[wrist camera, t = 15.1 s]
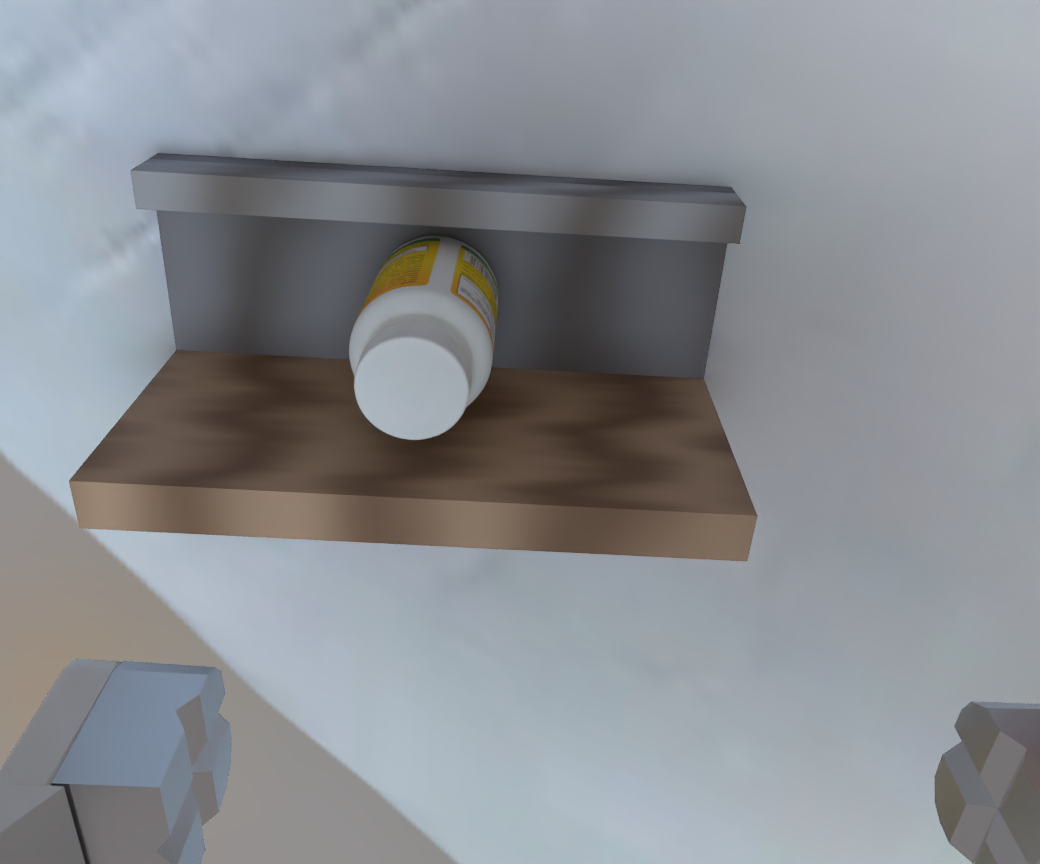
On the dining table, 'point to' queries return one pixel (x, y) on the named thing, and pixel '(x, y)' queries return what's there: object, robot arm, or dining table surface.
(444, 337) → the supplement bottle
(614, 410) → the board
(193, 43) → the dining table surface
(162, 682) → the robot arm
